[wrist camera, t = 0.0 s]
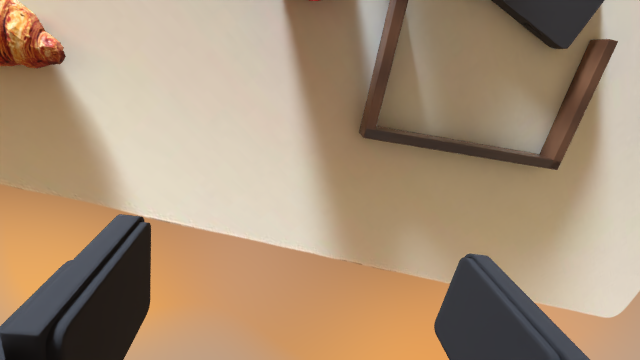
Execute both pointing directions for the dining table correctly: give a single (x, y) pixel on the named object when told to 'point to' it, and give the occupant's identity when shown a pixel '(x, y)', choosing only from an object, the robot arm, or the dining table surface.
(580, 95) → the dock
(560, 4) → the smart home device
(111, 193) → the dining table surface
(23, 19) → the croissant
